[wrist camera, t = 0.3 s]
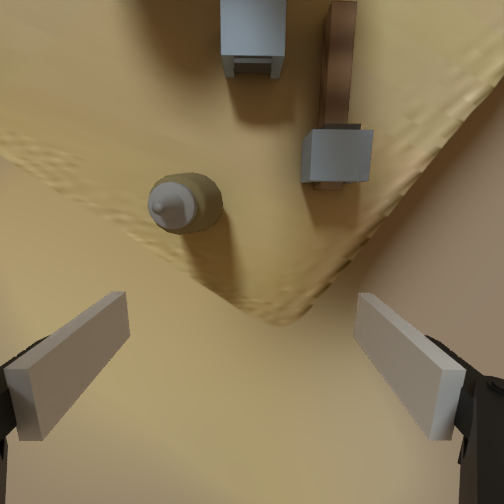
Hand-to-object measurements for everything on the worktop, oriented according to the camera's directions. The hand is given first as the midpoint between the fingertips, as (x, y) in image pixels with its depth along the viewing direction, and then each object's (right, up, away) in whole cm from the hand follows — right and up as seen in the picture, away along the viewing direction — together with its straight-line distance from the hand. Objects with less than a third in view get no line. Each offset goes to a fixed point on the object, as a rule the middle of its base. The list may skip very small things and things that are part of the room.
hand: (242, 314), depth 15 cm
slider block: (+12, +17, +23) cm, 31 cm away
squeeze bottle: (-8, +11, +25) cm, 29 cm away
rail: (+12, +24, +22) cm, 35 cm away
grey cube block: (+1, +31, +21) cm, 37 cm away
